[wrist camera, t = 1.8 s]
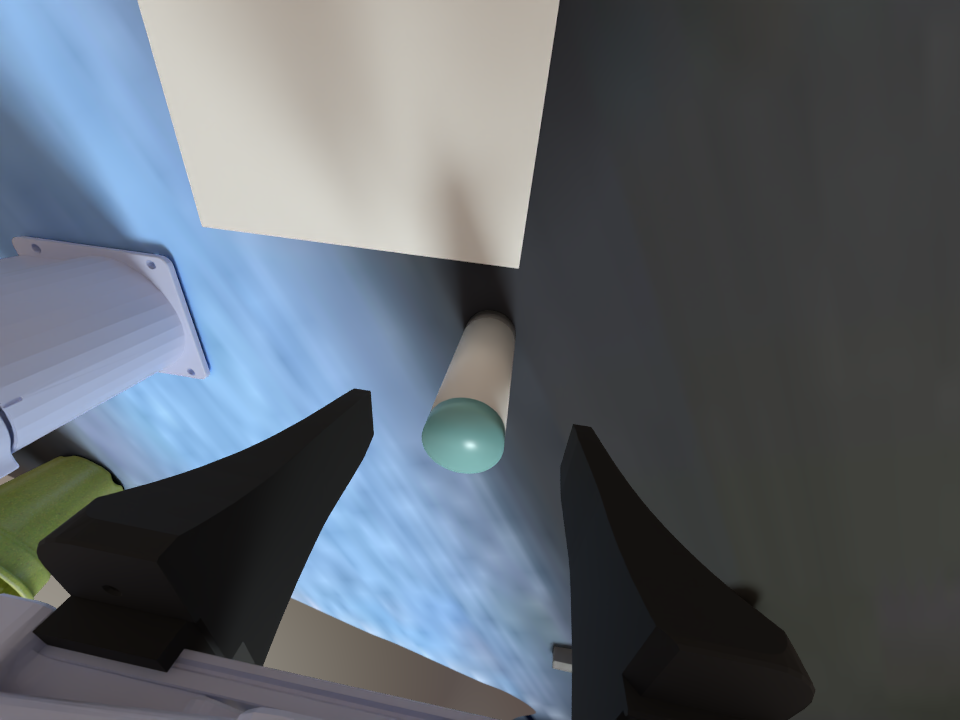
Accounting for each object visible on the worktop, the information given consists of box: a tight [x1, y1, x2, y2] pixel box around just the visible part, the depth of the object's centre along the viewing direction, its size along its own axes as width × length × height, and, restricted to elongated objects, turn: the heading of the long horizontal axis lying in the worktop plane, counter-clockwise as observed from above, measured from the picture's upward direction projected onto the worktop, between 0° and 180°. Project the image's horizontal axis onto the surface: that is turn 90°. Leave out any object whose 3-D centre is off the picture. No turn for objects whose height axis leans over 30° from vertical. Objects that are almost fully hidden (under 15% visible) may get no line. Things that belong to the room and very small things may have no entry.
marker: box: [422, 310, 516, 474], centre depth 16 cm, size 3×3×9 cm
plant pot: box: [0, 456, 123, 600], centre depth 28 cm, size 9×9×9 cm
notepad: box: [138, 0, 560, 269], centre depth 14 cm, size 16×12×1 cm
